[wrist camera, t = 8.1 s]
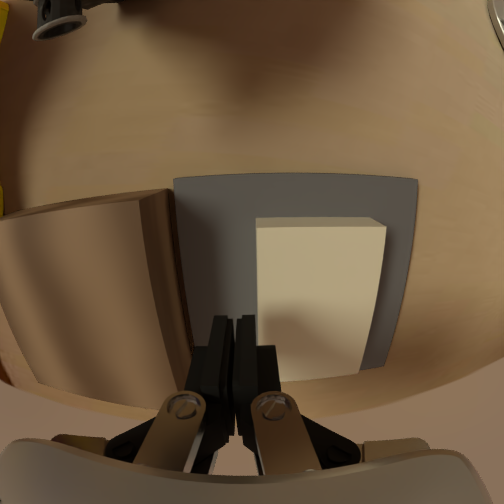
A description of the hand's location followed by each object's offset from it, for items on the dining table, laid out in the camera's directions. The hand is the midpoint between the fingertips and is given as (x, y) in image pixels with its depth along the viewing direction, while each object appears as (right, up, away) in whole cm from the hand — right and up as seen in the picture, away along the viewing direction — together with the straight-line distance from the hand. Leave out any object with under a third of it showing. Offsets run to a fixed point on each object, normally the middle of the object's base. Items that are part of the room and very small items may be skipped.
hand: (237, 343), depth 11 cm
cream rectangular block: (+4, +1, +3) cm, 5 cm away
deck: (-10, +1, +4) cm, 11 cm away
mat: (+3, +2, +4) cm, 6 cm away
